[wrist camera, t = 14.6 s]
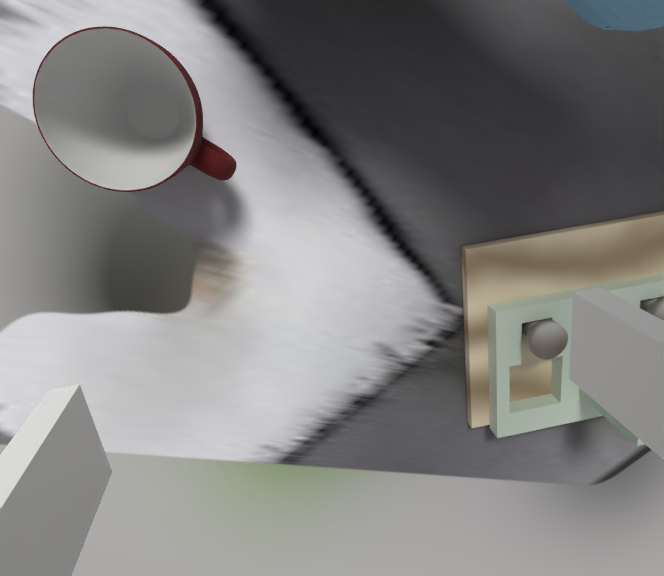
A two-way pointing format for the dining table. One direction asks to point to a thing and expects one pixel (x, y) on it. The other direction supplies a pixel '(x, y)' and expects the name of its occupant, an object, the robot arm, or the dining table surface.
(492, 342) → the panel
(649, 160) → the dining table surface
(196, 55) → the dining table surface
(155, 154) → the mug
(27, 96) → the dining table surface
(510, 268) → the boss board
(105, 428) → the dining table surface
